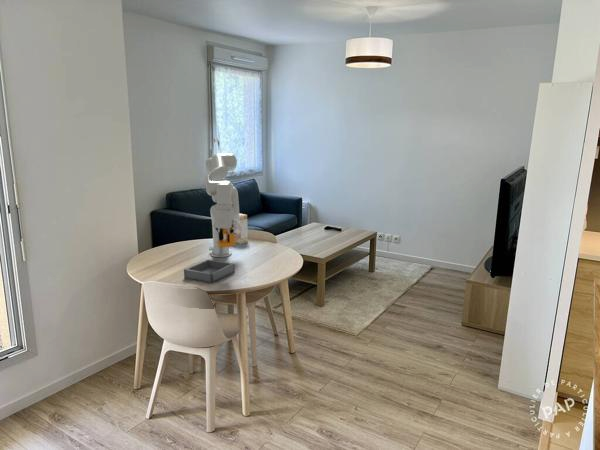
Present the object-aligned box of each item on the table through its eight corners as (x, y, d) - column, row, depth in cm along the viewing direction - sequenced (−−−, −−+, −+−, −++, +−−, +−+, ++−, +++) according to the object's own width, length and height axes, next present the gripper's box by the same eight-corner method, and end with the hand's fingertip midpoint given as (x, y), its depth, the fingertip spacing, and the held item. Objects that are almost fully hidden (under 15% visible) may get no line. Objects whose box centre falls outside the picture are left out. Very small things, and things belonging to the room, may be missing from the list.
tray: (184, 278, 233) (183, 269, 232) (208, 267, 250) (207, 259, 249) (212, 283, 225) (211, 274, 224) (234, 272, 242) (234, 263, 241)
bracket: (216, 244, 240) (215, 222, 237) (230, 242, 242) (229, 221, 239) (221, 249, 230) (219, 226, 227) (234, 247, 232) (233, 225, 230)
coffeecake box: (226, 240, 310) (225, 213, 306) (233, 238, 316) (232, 211, 311) (240, 244, 301) (239, 216, 297) (248, 242, 306) (247, 214, 302)
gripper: (206, 206, 231) (208, 240, 235) (234, 209, 224) (235, 244, 229) (215, 204, 238) (216, 237, 242) (242, 206, 231) (243, 240, 235)
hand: (225, 240), depth 235 cm, fingers closed on bracket, 4 cm apart
